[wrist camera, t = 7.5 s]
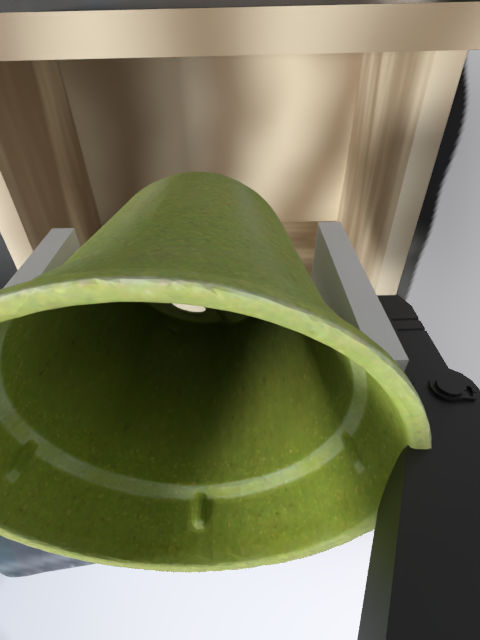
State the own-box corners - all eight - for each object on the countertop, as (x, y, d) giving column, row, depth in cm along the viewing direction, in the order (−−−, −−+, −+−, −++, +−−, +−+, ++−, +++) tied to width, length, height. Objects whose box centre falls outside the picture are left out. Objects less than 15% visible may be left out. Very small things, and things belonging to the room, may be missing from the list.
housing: (128, 355, 39) (91, 479, 29) (30, 12, 22) (-151, 16, 12) (325, 350, 39) (358, 473, 29) (385, 3, 22) (522, 0, 12)
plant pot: (282, 366, 18) (311, 587, 11) (68, 326, 16) (-53, 559, 9) (381, 162, 12) (573, 364, 5) (64, 68, 10) (-262, 186, 4)
